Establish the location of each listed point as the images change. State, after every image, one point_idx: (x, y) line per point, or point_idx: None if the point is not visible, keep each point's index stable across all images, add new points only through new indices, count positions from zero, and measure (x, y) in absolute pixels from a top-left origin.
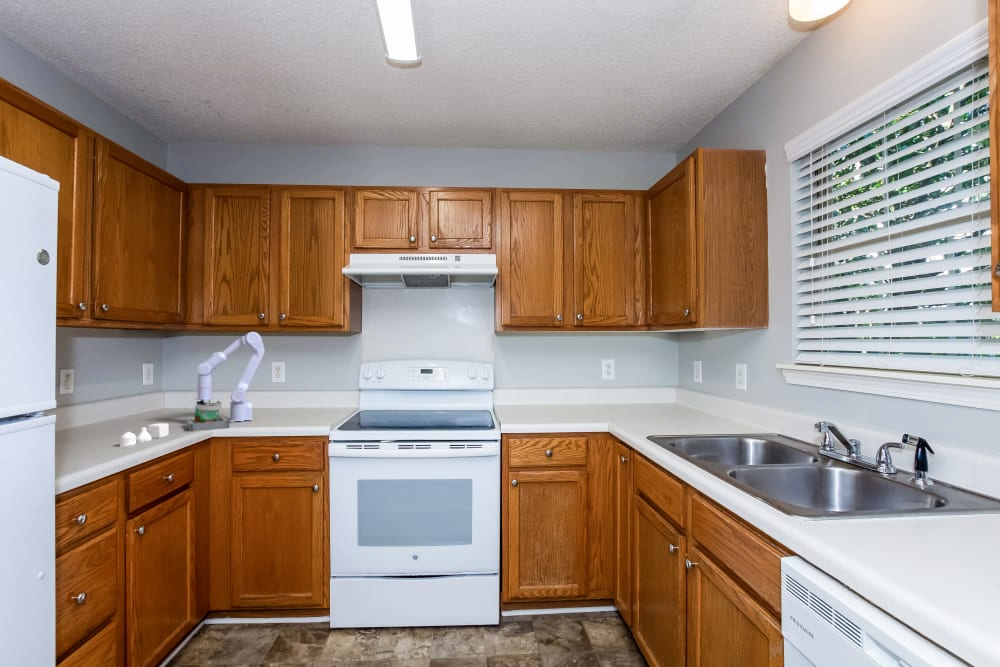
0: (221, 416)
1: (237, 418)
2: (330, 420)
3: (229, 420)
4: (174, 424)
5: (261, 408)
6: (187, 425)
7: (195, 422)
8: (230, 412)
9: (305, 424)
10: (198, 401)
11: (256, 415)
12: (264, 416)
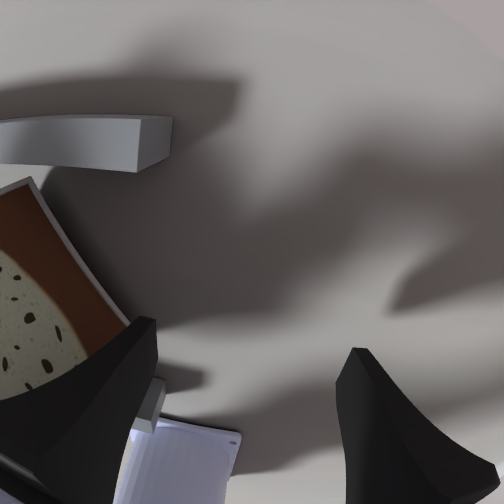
0: (149, 425)
1: (132, 446)
2: None
3: (178, 426)
4: (408, 56)
5: None
6: (36, 117)
7: (5, 194)
8: (165, 477)
9: None
10: (474, 499)
11: (309, 497)
12: (249, 501)
